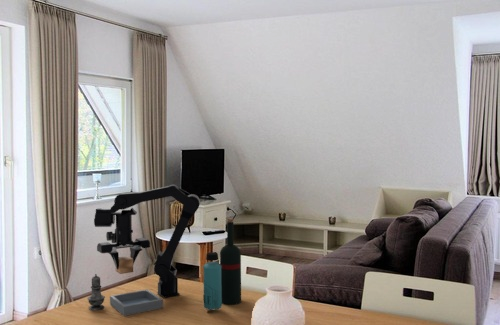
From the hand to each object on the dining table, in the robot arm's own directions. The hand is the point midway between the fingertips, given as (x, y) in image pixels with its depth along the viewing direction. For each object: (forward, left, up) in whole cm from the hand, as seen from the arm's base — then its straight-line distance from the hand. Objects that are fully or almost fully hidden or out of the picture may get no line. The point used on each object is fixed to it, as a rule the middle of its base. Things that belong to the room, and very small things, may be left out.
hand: (124, 268), depth 196 cm
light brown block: (0, 0, -1) cm, 1 cm away
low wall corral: (+1, +14, -10) cm, 17 cm away
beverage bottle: (-19, +33, -10) cm, 40 cm away
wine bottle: (-30, +27, -10) cm, 42 cm away
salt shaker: (+13, +8, -10) cm, 19 cm away
